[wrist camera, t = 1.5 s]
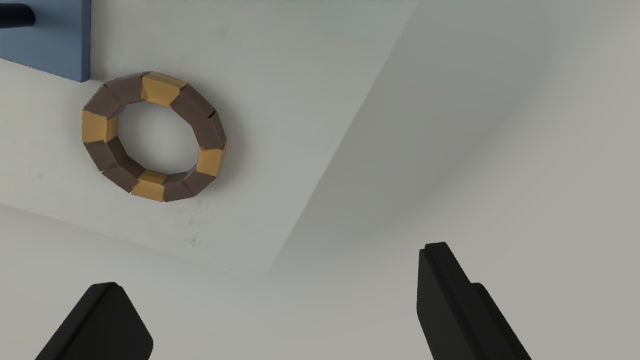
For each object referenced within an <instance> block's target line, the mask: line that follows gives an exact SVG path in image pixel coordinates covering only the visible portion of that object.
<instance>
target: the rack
mask: <svg viewBox="0 0 640 360" xmlns="http://www.w3.org/2000/svg"><path fill="white" fill-rule="evenodd" d="M90 19H91V0H0V58H3V59H6V60H9V61H12V62H16V63H19V64H22V65H26V66H29V67H32V68H35V69H39V70H42V71H45V72H48V73H52V74H55V75H58V76H62V77H65V78H68V79H71V80H75V81H78V82H84V81H87V80H89V68H90Z"/></svg>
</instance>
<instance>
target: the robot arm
mask: <svg viewBox="0 0 640 360" xmlns="http://www.w3.org/2000/svg"><path fill="white" fill-rule="evenodd" d="M417 315H418V318H419V321H420V324H421V327H422V329H423V332H424V335H425V337H426V340H427V343H428V345H429V348H430V351H431V353H432V356H433V359H434V360H532V359H531V358H530V356H529V355H528V353H527V352H526V350H525V349H524V347H523V346H522V344H521V343H520V341H519V339H518V338H517V336H516V335H515V333H514V332H513V330H512V329H511V327H510V325H509V324H508V322H507V321H506V319H505V318H504V316H503V315H502V313H501V312H500V310H499V308H498V307H497V305H496V304H495V302H494V301H493V299H492V298H491V296H490V295H489V293H488V291H487V290H486V289H485V287H484V286H483V285H482V284H480V283H470V281H469V279H468V278H467V276H466V275H465V273H464V271H463V270H462V268H461V266H460V265H459V263H458V261H457V260H456V258H455V257H454V255H453V253H452V252H451V250H450V248H449V247H448V245H447V244H446V243H445V242H439V243H430V244H426V245H425V249H421V250H420V251H419V268H418V288H417ZM152 349H153V339H152V337H151V335H150V334H149V332H148V330H147V329H146V327H145V325H144V323H143V322H142V320H141V318H140V316H139V315H138V313H137V311H136V310H135V308H134V306H133V304H132V303H131V301H130V299H129V297H128V296H127V294H126V293H125V291H124V289H123V288H122V287H121V286H118V284H117V283H115V282H108V283H99V284H93V285H91V286H90V287H89V288H88V290H87V291H86V292H85V294H84V295H83V296H82V298H81V299H80V300H79V302H78V303H77V304H76V306H75V307H74V308H73V310H72V311H71V312H70V314H69V315H68V316H67V318H66V319H65V320H64V321H63V323H62V324H61V325H60V327H59V328H58V329H57V331H56V332H55V333H54V335H53V336H52V338H51V339H50V340H49V342H48V343H47V344H46V345H45V347H44V348H43V350H42V351H41V352H40V353H39V355H38V356H37V357H36V359H35V360H148V359H149V357H150V355H151V352H152Z"/></svg>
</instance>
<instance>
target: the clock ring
mask: <svg viewBox="0 0 640 360" xmlns="http://www.w3.org/2000/svg"><path fill="white" fill-rule="evenodd" d="M145 100H146V101H149V102H153V103H156V104H159V105H163V106H166V107H169V108H172V109H173V110H174V111H175V112H177V113H178V114H179V115H180V116H181V117H182V118H183V119H184V120H186V121H187V122H188V123H189V124H190V125H191V126H192V128H193V130H194V133H195V135H196V138H197V141H198V143H199V146H200V152H199V157H198V162H197V164H196V165H195V166H194V167H193V168H192V169H190V170H189V171H188V172H183V173H178V174H173V175H165V174H161V173H157V172H153V171H149V170H146V169H145V168H143V167H142V166H141V165H139V164H138V163H137V162H136V161H134V160H133V159H132V158H130V157H129V156H128V155H127V154H126V152H125V150H124V148H123V146H122V144H121V142H120V140H119V139H118V137H117V124H118V114H119V113H120V112H121V111H122V110H123V109H124V107H125V106H126V105H127V104H130V103H135V102H140V101H145ZM84 108H85V109H83V110H82V141H85V142H83V144H84V146H85V147H86V149H87V151H88V152H89V154H90V156H91V158H92V159H93V161H94V163H95V164H96V166H97V168H98V169H99V171H103V172H102V174H103V175H104V176H106V177H107V178H108V179H110V180H111V181H113V182H114V183H115V184H117V185H118V186H120V187H121V188H122V189H124V190H125V191H127V192H128V193H130V192H131V191H132V193H131V194H132V195H136V196H140V197H144V198H148V199H152V200H156V201H160V202H163V201H165V202H169V201H174V200H180V199H185V198H190V197H194V195H195V196H196V195H197V194H198V193H199V192H201V191H202V190H203V189H204V188H205V187H206V186H207V185H209V184H210V183H211V182H212V181H213V180H214V179H215V178H216V177H217V175H218V173H219V171H220V169H221V165H222V161H223V157H224V153H225V149H226V144H227V142H226V137H225V134H224V131H223V128H222V125H221V122H220V119H219V117H218V114H217V111H215V112H213V111H214V110H215V108H214V107H212V106H211V105H210V104H209V103H208V102H207V101H206V100H205V99H204V98H203V97H202V96H201V95H200V94H199V93H198V92H197V91H196V90H195V89H194V88H193V87H192V86H190V85H188V86H187V83H186V82H183V81H179V80H176V79H173V78H170V77H167V76H164V75H161V74H158V73H155V72H151V73H150V72H144V73H139V74H134V75H129V76H124V77H120V78H116V79H114V80H111V81H109V82H106V83H105V84H103V85H102V86H101V87H100V88H99V90H98V91H97V92H96V93H95V94H94V95H93V97H92V98H91V99H90V100H89V101H88V102H87V104H86V105H85V106H84Z"/></svg>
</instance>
